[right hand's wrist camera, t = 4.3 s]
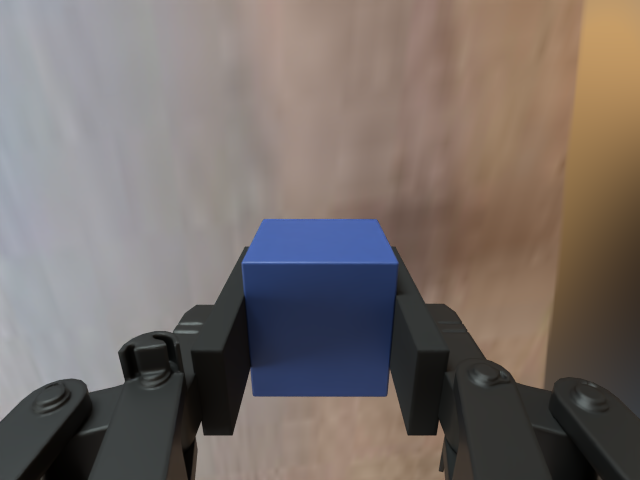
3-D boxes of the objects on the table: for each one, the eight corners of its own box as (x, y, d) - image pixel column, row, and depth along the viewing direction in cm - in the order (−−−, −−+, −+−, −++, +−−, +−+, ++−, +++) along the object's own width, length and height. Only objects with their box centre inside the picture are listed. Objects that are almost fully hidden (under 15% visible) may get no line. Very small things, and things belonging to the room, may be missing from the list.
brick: (262, 218, 14) (240, 262, 10) (377, 218, 14) (399, 262, 10) (269, 325, 16) (252, 397, 12) (371, 325, 16) (387, 397, 12)
